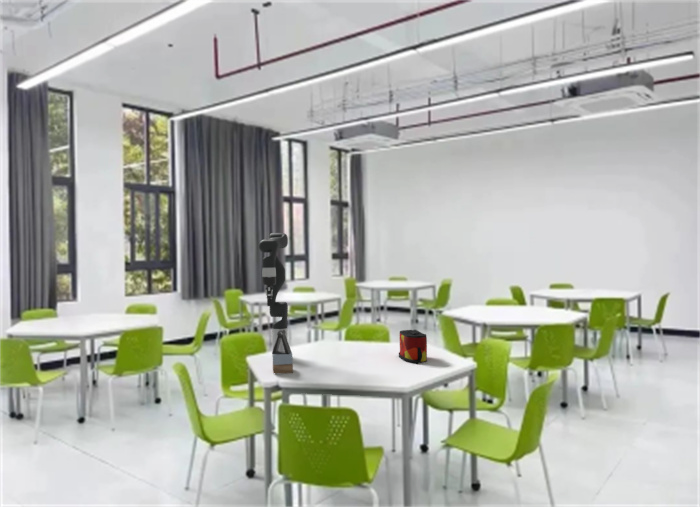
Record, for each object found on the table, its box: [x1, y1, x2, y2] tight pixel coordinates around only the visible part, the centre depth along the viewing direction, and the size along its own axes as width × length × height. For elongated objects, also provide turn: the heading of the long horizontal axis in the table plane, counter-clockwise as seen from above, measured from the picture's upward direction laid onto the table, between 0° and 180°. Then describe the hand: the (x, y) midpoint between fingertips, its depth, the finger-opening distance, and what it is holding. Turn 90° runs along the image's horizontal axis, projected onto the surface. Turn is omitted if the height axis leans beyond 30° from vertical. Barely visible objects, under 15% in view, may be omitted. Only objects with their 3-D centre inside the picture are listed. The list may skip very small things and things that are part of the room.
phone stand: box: [271, 330, 292, 355], centre depth 277 cm, size 9×6×12 cm, turn 83°
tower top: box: [272, 351, 293, 366], centre depth 277 cm, size 10×10×5 cm
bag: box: [398, 329, 428, 365], centre depth 307 cm, size 30×14×16 cm, turn 10°
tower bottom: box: [272, 362, 294, 374], centre depth 277 cm, size 10×10×5 cm
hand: (269, 305), depth 288 cm, fingers open, 8 cm apart
